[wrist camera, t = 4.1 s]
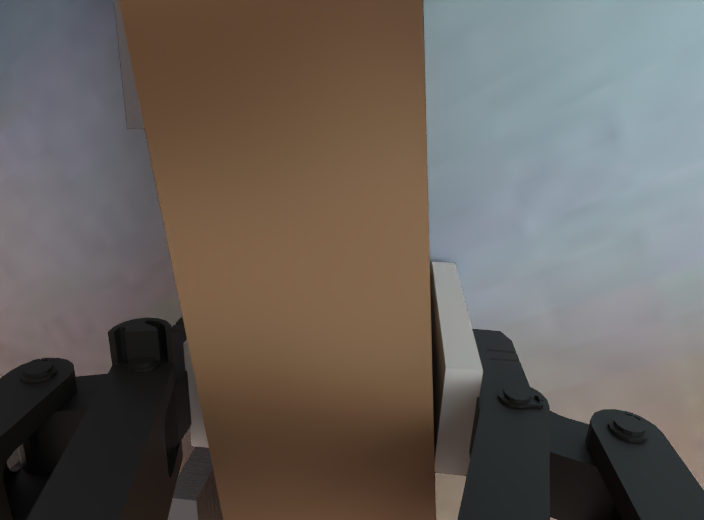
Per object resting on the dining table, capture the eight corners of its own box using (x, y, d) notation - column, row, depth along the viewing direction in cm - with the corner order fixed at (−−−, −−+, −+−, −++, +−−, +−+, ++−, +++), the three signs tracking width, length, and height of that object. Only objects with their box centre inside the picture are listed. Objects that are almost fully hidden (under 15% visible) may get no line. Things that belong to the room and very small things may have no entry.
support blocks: (21, 399, 21) (-65, 470, 17) (236, 421, 20) (196, 501, 16) (43, 503, 22) (-30, 588, 19) (240, 527, 22) (206, 621, 18)
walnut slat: (249, -73, 14) (68, -248, 7) (411, -93, 14) (415, -309, 6) (322, 531, 21) (275, 776, 14) (430, 534, 21) (442, 792, 13)
